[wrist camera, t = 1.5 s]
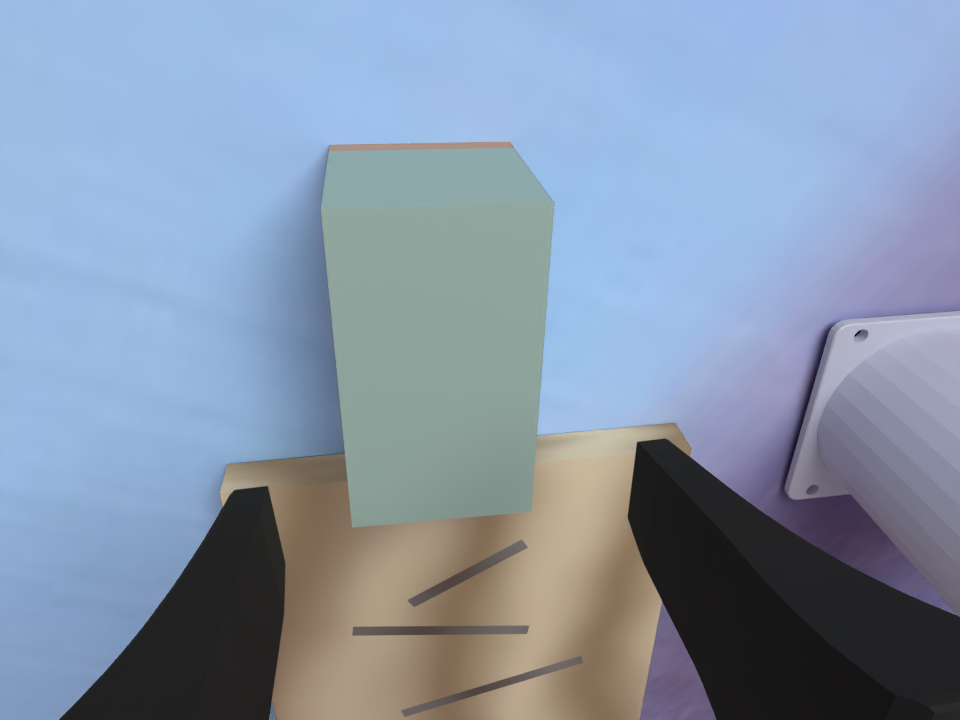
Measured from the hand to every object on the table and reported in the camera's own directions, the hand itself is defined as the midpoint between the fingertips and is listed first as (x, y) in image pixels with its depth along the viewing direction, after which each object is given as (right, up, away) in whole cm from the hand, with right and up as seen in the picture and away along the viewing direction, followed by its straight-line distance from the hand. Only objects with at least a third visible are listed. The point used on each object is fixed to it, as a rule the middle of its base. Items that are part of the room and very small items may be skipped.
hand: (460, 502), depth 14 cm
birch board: (0, -8, +16) cm, 18 cm away
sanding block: (-1, +5, +8) cm, 10 cm away
